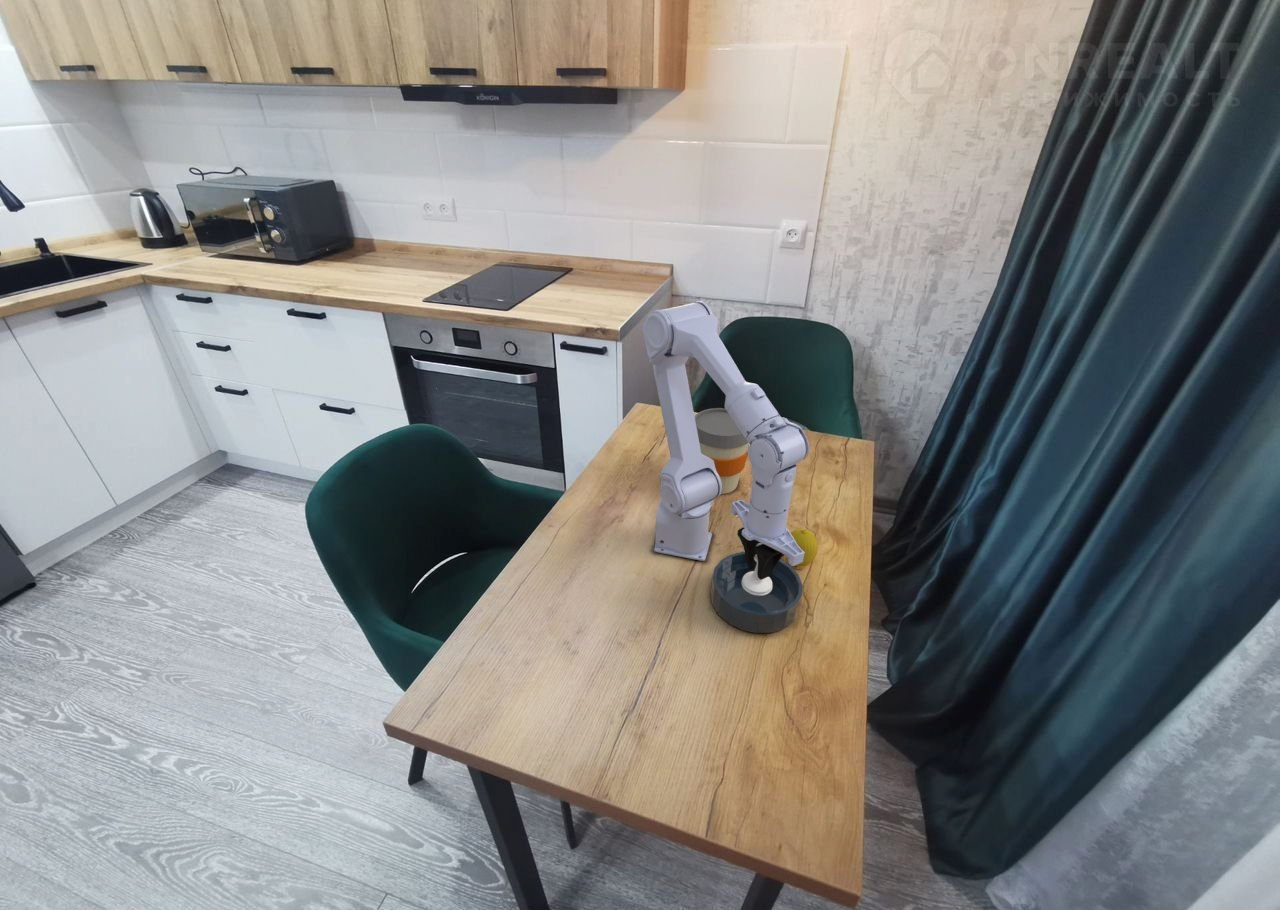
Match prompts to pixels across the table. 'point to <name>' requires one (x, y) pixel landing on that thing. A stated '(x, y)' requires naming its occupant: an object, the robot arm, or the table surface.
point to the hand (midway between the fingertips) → (758, 571)
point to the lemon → (806, 545)
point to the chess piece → (756, 581)
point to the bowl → (755, 596)
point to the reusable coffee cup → (722, 445)
